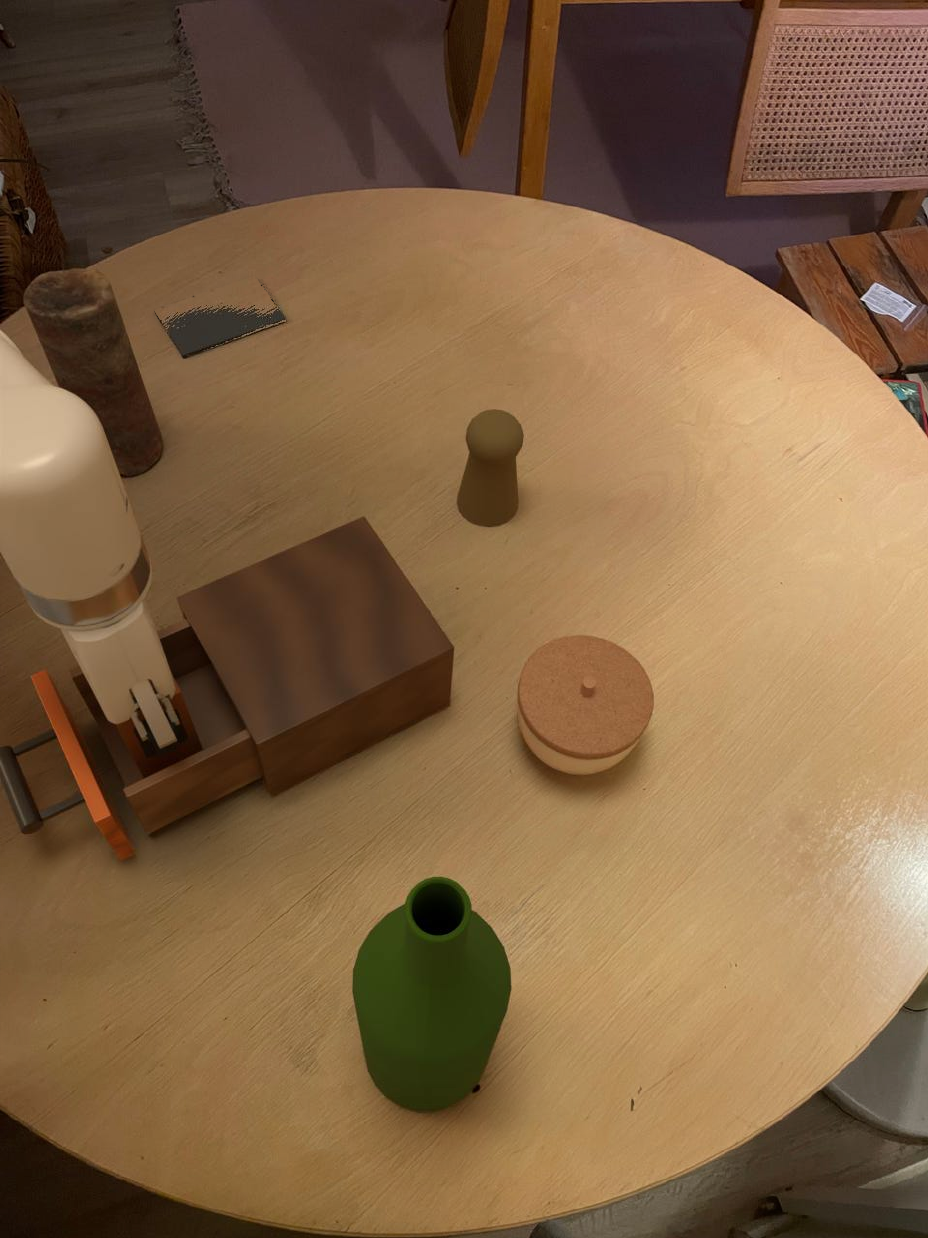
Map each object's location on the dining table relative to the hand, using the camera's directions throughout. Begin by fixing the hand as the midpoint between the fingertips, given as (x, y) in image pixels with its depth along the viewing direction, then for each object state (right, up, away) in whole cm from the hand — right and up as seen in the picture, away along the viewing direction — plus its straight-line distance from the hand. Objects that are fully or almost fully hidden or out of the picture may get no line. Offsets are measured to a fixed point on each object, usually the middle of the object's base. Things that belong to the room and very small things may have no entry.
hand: (145, 702), depth 77 cm
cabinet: (+12, +1, +12) cm, 17 cm away
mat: (-3, +39, +36) cm, 53 cm away
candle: (-10, +23, +25) cm, 36 cm away
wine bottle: (+21, -24, -3) cm, 32 cm away
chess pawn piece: (+26, +18, +24) cm, 40 cm away
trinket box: (+33, -4, +11) cm, 35 cm away
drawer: (-2, -5, +7) cm, 9 cm away
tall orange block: (0, -4, +6) cm, 7 cm away
